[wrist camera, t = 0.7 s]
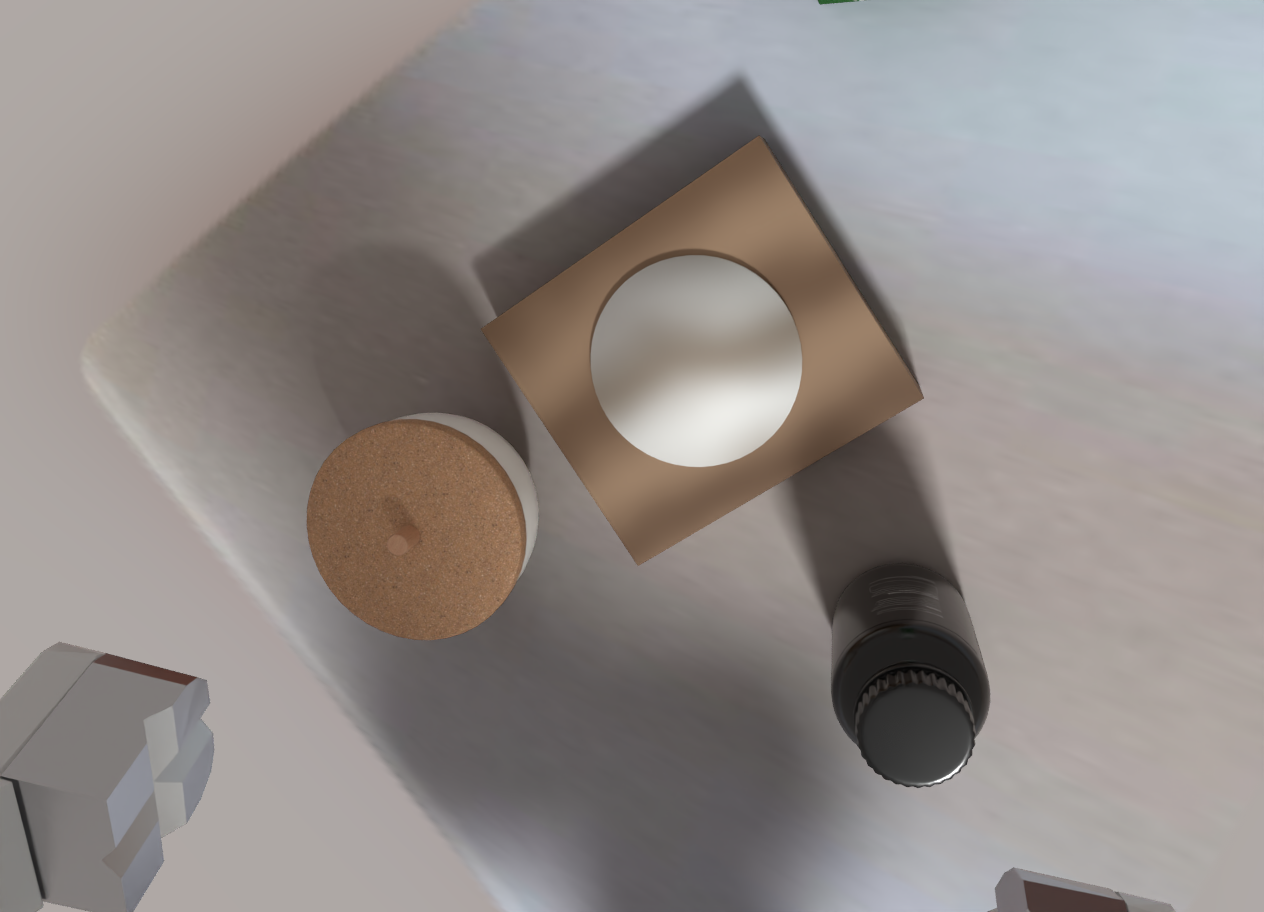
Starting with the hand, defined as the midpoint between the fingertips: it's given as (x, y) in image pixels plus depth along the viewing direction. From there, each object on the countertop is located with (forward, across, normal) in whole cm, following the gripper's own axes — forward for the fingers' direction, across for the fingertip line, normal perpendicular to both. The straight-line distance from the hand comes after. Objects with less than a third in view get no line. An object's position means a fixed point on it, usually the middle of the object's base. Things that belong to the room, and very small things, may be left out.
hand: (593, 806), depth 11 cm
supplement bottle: (+37, +13, -27) cm, 48 cm away
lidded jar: (+39, -11, -27) cm, 49 cm away
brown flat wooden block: (+41, 0, -17) cm, 45 cm away
